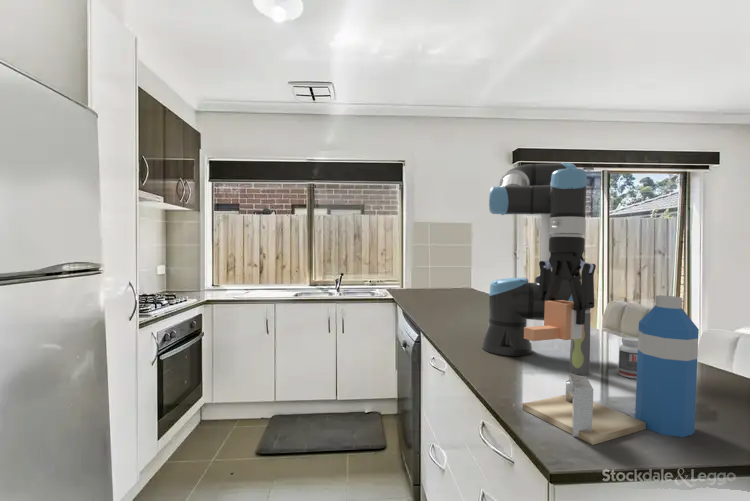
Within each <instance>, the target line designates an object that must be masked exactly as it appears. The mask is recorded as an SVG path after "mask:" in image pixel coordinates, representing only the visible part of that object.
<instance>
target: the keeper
mask: <svg viewBox="0 0 750 501" xmlns="http://www.w3.org/2000/svg"><path fill="white" fill-rule="evenodd" d="M569 376H570V385H571V387H572V390H573V403H572V434H571V435H572V437H573V438H578V437H579V431H582V432H589V433H592V414H593V402H594V388H593V386H592V384H591V383H590V381H589V379H588V377H587V376H582V375H572V374H571V375H570V374H569Z"/></svg>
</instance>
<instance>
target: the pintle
mask: <svg viewBox="0 0 750 501" xmlns="http://www.w3.org/2000/svg"><path fill="white" fill-rule="evenodd" d="M565 395H566V398H565V400H566V401H567V402H570V403H573V390H572V387H571V385H570V375H568V380H566V381H565Z"/></svg>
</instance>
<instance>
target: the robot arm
mask: <svg viewBox="0 0 750 501" xmlns="http://www.w3.org/2000/svg"><path fill="white" fill-rule="evenodd" d="M587 177H588V176H587V172H586V170H585V169H582V168H578V167H577V166H576V165H575V164H574V163H572V162H559V163H557V162H555V163H553V162H552V163H529V164H522V165H518V166H516V167H513V168H511V169H509V170H507V171H506V172H505V173H503V174H502V176H501V178H500V180H499V186H491V188H490V190H489V196H488V197H489V198H488V199H489V200H488V207H489V208H488V209H489V212H490V213H491V214H492V215H500V216H505V215H541V217H540V219H541V220H540V223H541V224H540V261H539V262H538V263H539V264H538V265H539V271H540V272H539V274H537V275H536V276H535V278H534V282H529V279H528V277H509V278H507V277H506V278H499V279H495V280H493V281H491V282H490V287H489V294H488V296H489V308H488V325H487V328H486V332H485V334H484V338H483V339H482V350H484V351H486V352H489V353H492V354H496V355H500V356H508V357H510V356H511V357H521V356H522V357H523V356H528V355H531V354H532V343H531V342H530V341H531V340H528V339H524V327H527V320H530V321H531V320H533V321H534V320H535V321H543V322H544V311H545V301H556V300H564V301H571V302H574V306H575V308H573V310H571V339H581V338H582V325H584V323H585V311H586V310H587V309H590V308H591V309H593V308H595V285H594V284H595V282H594V281H595V279H594V278H595V277H594V276H595V275H594V273H595V271H596V267H597V265H596V264H595V263H590V262H586V261H585V259H584V255H583V254H584V253H585V248H586V247H585V242H586V239H585V238H584V237H583V236H585V235H586V205H587V203H586V202H587V189H588V188H587V186H588V182H587V180H588V179H587Z"/></svg>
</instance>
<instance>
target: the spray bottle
mask: <svg viewBox="0 0 750 501" xmlns="http://www.w3.org/2000/svg"><path fill="white" fill-rule="evenodd" d="M591 309H592V308H590V309H587V310H586V311H585V323H584V338H582V339H572V340H570V349H569V350H570V351H569V372H571V373H573V374H575V375H578V376H585V375H586V376H587V375H589V374H590V371H591V370H590V368H591V366H590V364H591V363H590V361H591V316H592V312H591Z"/></svg>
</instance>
